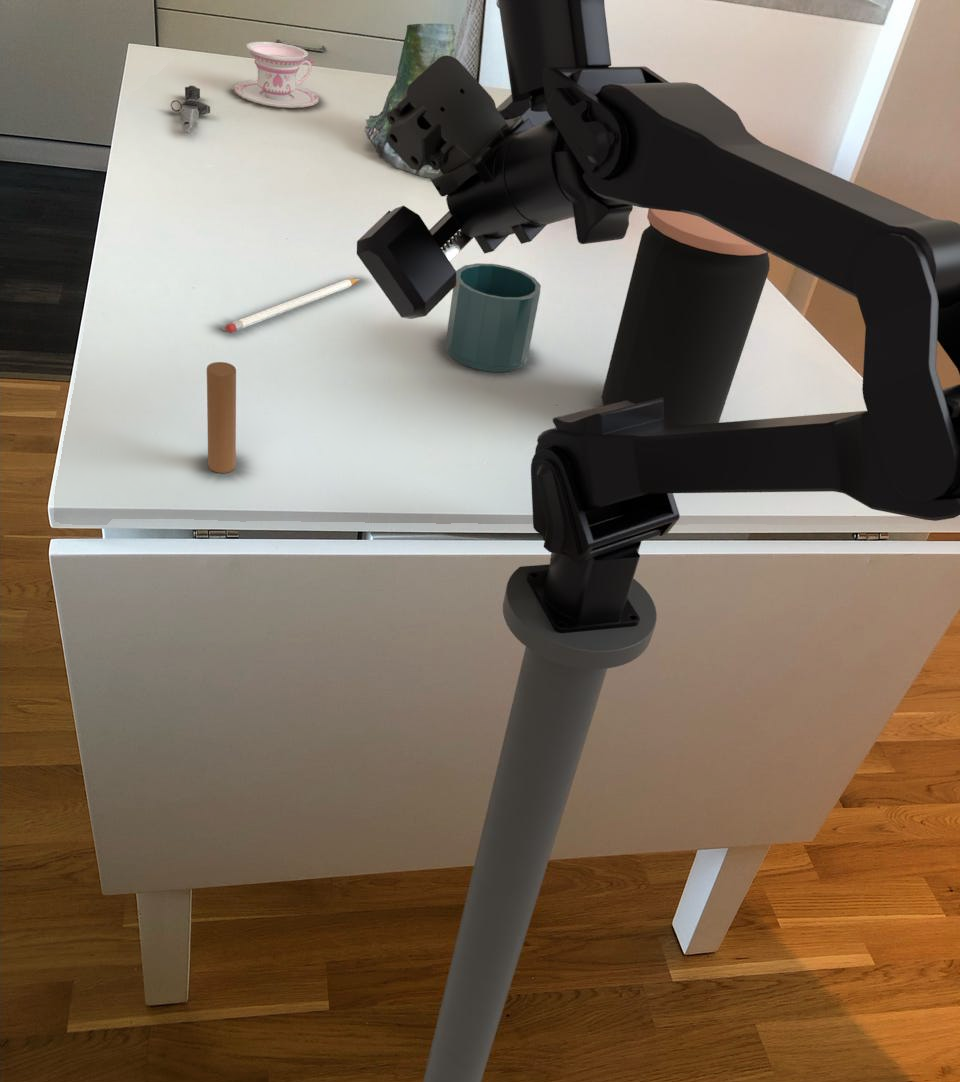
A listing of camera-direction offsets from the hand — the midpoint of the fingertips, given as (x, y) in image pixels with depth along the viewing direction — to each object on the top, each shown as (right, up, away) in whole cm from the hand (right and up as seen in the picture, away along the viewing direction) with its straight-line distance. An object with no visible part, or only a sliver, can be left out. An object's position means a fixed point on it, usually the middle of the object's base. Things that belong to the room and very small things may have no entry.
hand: (408, 220), depth 80 cm
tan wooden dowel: (-14, -18, 0) cm, 23 cm away
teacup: (-24, +47, +74) cm, 91 cm away
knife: (-33, +37, +61) cm, 78 cm away
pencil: (-12, +1, +23) cm, 26 cm away
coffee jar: (+21, -12, +16) cm, 29 cm away
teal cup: (+6, -4, +21) cm, 23 cm away
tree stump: (-1, +34, +65) cm, 73 cm away
